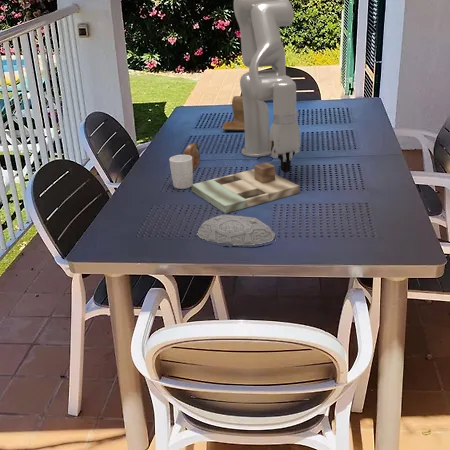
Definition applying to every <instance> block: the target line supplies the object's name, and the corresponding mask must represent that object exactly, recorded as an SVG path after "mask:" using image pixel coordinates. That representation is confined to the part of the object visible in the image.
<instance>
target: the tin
mask: <svg viewBox="0 0 450 450" xmlns="http://www.w3.org/2000/svg"><path fill="white" fill-rule="evenodd" d="M182 155H190V156H192V165H193V172H194V171H195V170H196V168H197V167H198V166H199V164H200V160H201V159H200V157H201V155H200V148H199V145H198V143H196V142H193V143H189V144H188V145H187V146H186V148H184V150H183V153H182Z"/></svg>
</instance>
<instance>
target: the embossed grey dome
mask: <svg viewBox="0 0 450 450" xmlns="http://www.w3.org/2000/svg"><path fill="white" fill-rule="evenodd" d="M197 232H198V233H197ZM197 232H196V236H197V235H198V236H199V237H200V238H202V239H205V240H207V241H212V242H217V243H226V244H233V245H255V244H262V243H266V242H270V241H272V240H273V239H274V237H275V234H276V233H275V232H274V231H273V230H272V229H271V227H270V226H269V225H267V224H266V223H264V222H263V221H262V220H259V219H257V218H256V217H251V216H243V215H231V214H220V215H218V216H214V217H211V218H209V219H208V220H205V221H204V222H203V223H202V224H201V225H200V227H199V228H198V230H197Z"/></svg>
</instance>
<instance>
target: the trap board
mask: <svg viewBox="0 0 450 450" xmlns="http://www.w3.org/2000/svg"><path fill="white" fill-rule="evenodd" d="M191 192H193V193H194V194H195V195H197V196H198V197H200V198H201V199H203V200H205V202H207V203H209V204H210V203H211V204H210V205H212V206H214V207H215V208H216V209H218V210H219V211H221V212H222V213H223V214H228V213H232V212H236V211H239V210H242V209H243V210H244V209H245V208H250V207H253V206H257V205H261V204H265V203H268V202H272V201H275V200H279V199H283V198H286V197H291V196H293V195H297V194H299V193H300V185H299V184H296V183H295V182H293V181H290V180H288V179H286V178H284V177H282V176H280V175H278V174H276V173H275V181H271V182H267V183H263V184H262V183H260V182H259V181H257V180H255V174H254V168H253V169H249V170H245V171H241V172H237V173H232V174H229V175H224V176H221V177H216V178H213V179H207V180H205V181H200V182H196V183H193V184H192V186H191Z"/></svg>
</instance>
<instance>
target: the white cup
mask: <svg viewBox="0 0 450 450" xmlns="http://www.w3.org/2000/svg"><path fill="white" fill-rule="evenodd" d="M168 162H169V166H170V167H169V168H170V173H171V180H172V185H173V188H175V189H178V190H184V189H189V188H192V184H194V181H193V178H194V177H193V176H194V173H193V172H194V171H193V165H192V156H190V155H183V154H177V155H173V156H171V157H170V158H169V159H168Z"/></svg>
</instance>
